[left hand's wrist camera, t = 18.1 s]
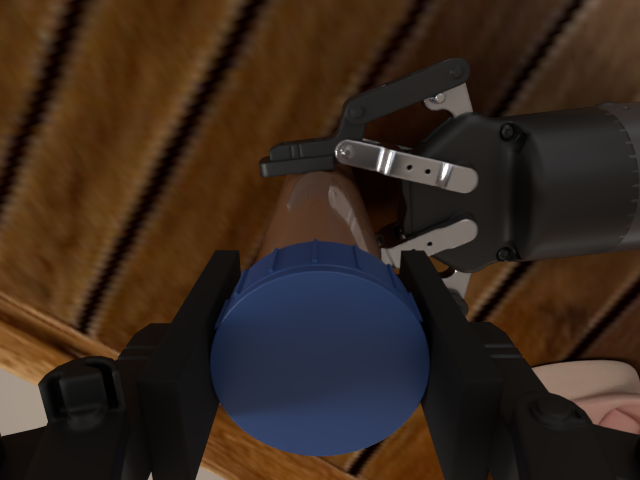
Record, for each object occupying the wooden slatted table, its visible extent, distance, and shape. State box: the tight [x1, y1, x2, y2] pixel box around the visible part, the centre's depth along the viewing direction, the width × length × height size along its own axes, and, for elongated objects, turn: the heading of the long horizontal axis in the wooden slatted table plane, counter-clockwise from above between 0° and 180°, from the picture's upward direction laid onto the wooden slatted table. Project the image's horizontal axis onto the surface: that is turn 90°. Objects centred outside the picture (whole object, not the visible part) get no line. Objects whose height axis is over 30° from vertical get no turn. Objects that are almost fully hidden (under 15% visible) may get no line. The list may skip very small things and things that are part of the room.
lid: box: [210, 239, 430, 456], centre depth 11 cm, size 5×5×2 cm
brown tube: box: [255, 164, 386, 264], centre depth 20 cm, size 5×5×19 cm
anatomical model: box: [532, 360, 640, 435], centre depth 34 cm, size 13×4×12 cm
